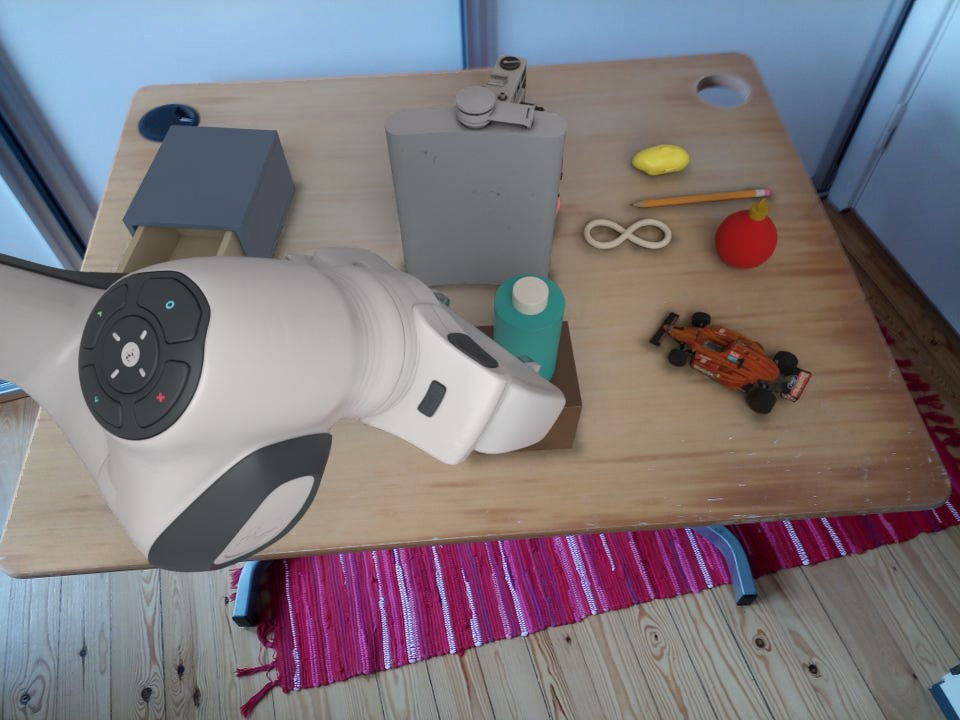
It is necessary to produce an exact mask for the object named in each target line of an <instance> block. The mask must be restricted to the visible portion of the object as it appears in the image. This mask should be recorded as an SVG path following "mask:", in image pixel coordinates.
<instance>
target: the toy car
mask: <svg viewBox="0 0 960 720" xmlns="http://www.w3.org/2000/svg"><path fill="white" fill-rule="evenodd" d="M680 316H681V315H679V314H677V313H676V312H672V311H671V312H669V314H668V315H667V316H666V317H665V319H664V321H663V322H662V323H661V325H660V327H659V328H658V330H657V331H656V332H655V334H654V335H653V336H652V337H651V339H650V340H649V343H650V344H652V345H653V346H656V347H659V346H660V345H661V344H662V343H663V341H664V339H665V338H666V336H667V335H668V336H670V337H671V338H672V339H673V340H674V341H676V342H677V343H678V344H679V348H672V349H671V350H670V351H669V354H668V355H667V360H668V362H669V363H670V364H671V365H672V366H674V367H679V368H681V367H685V366H686V365H687V363H688V360H689V355H691V356H692V357H691V359H690V360H689V364H690V367H691V368H693V369H695V370H697V371H699V372H700V373H702V374H703V375H706V376H708V377H709V378H711V379H713V380H716V381H717V382H719V384H721V386H723V387H725V389H729V390H731V391H732V390H739V391H740V392H742V393H744V394H747V395H748V394H750V390H753V389H754V385H755V384H756V383H757V384H759V385H760V387H759V388H758V387H757V388H756V389H754V390H753V391H752V393H751V395H750V397H749V399H747V400H748V401H747V405H748V407H749V408H750V409H751V410H752V411H753V412H755V413H757V414H760V415H769V414H770V413H771V412H772V410H773V408H774V407H775V405H776V404H777V401H778V400H777V396H776V395H775V394H774V393H776V394H778V393H779V397H780V398H782V399H784V400H786V401H790V402H791V403H796V402H798V401H799V400H800V398H801V396H802V394H803V392H804V390H805V389H806V386H807V385H808V383H809V382H810V379H811V378H812V377H813V373H812V372H811V371H808V370H805V369H802V368H801V367H798V365H799V359H798V357H797V356H796V355H795V354H794V353H792V352H790V351H787V350H779V351H778V352H777V353H775V355H774V356H773V358H772V359H771V358H770V357H769V356H767V355H766V354H765V350H764V347H763V345H762V344H761V343H760V342H757V341H754V340H752V339H750V338H748V336H745V335H744V334H741V333H739V332H737V331H735V330H732V329H730V328H726V327H724V326H720V325H714V326H713V327H712V328H711V329H710V327H711V322H712V317H711V315H710V314H709V313H707V312H704V311H697V312H694V313H693V314H692V317H691V325H692V326H685V325H678V324H676V323H677V321H678V320H679V319H680ZM688 354H689V355H688ZM784 377H785V378H787V377H789V378H788V380H787V381H782V380H783V378H784Z"/></svg>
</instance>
